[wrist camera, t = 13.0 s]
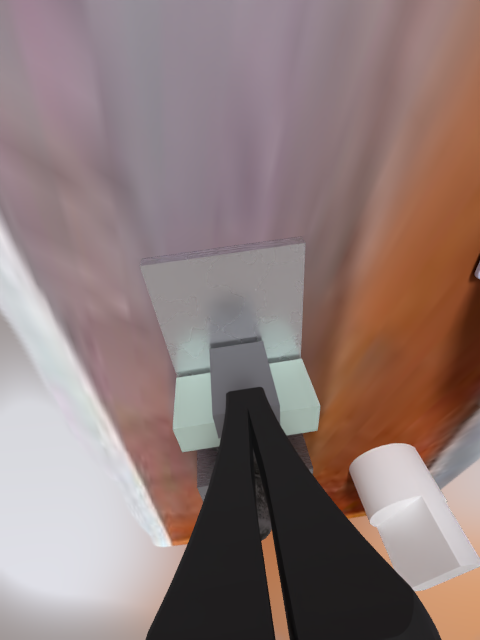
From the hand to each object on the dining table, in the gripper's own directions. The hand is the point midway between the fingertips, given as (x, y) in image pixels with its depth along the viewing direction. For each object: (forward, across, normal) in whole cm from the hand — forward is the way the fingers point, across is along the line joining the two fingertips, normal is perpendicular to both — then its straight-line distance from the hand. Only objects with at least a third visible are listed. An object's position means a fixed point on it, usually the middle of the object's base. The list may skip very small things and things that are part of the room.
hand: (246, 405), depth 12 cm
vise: (+10, 0, +9) cm, 14 cm away
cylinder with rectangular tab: (+11, -17, +31) cm, 37 cm away
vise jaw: (+9, 0, +8) cm, 12 cm away
